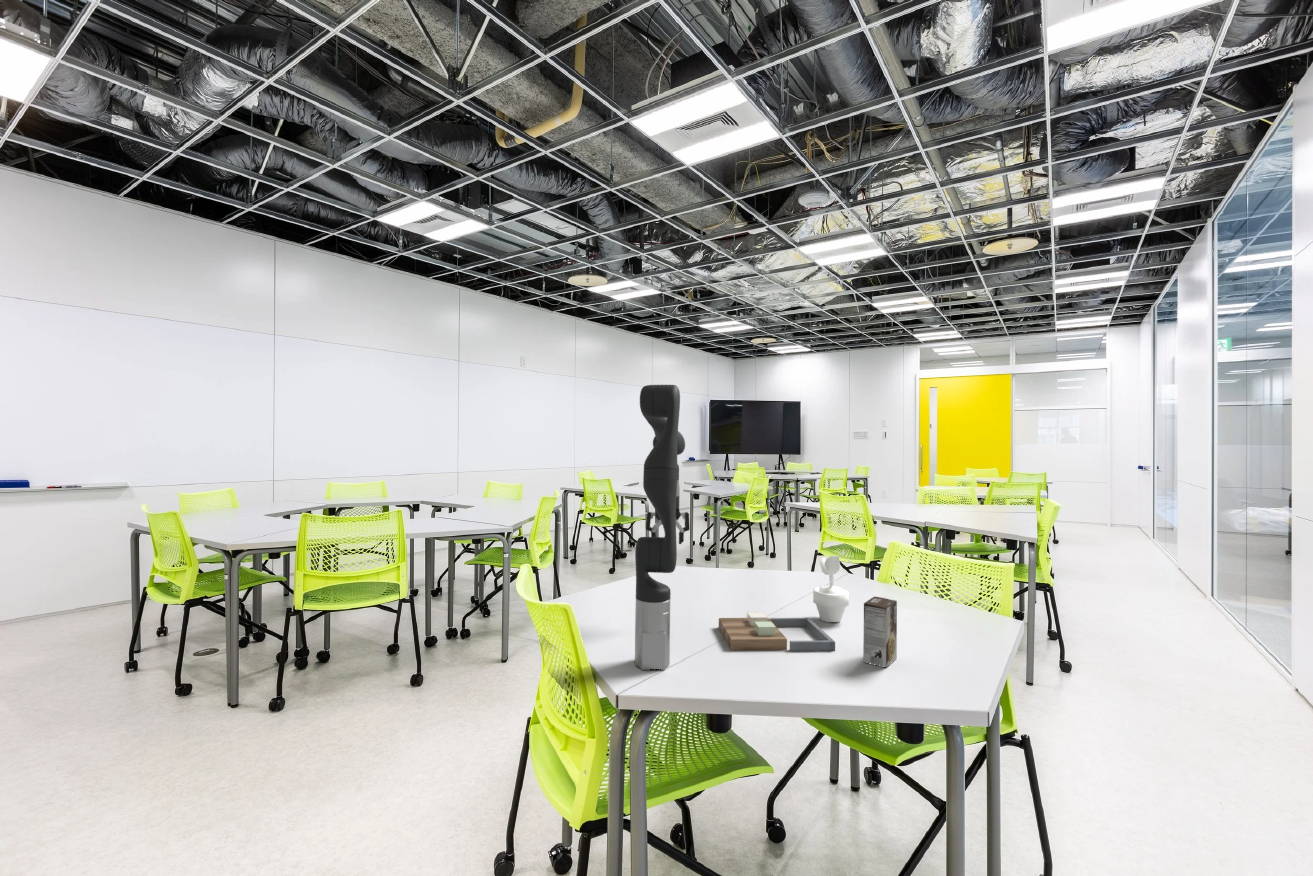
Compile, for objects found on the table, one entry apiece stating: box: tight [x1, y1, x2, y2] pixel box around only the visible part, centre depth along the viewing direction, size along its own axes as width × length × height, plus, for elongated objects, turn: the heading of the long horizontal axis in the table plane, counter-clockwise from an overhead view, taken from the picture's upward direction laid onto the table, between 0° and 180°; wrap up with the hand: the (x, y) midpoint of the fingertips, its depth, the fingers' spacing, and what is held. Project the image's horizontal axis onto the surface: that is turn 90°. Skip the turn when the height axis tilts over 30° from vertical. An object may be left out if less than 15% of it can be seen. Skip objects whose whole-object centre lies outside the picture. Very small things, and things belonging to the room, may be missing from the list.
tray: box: [769, 617, 836, 652], centre depth 172 cm, size 22×13×2 cm, turn 4°
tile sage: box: [754, 622, 776, 636], centre depth 167 cm, size 5×5×2 cm
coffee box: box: [862, 596, 898, 668], centre depth 154 cm, size 9×6×16 cm
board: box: [718, 617, 788, 651], centre depth 171 cm, size 20×16×3 cm
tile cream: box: [746, 612, 768, 626], centre depth 176 cm, size 5×5×2 cm
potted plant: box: [812, 547, 851, 623], centre depth 190 cm, size 13×12×25 cm
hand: (667, 543), depth 187 cm, fingers open, 8 cm apart
